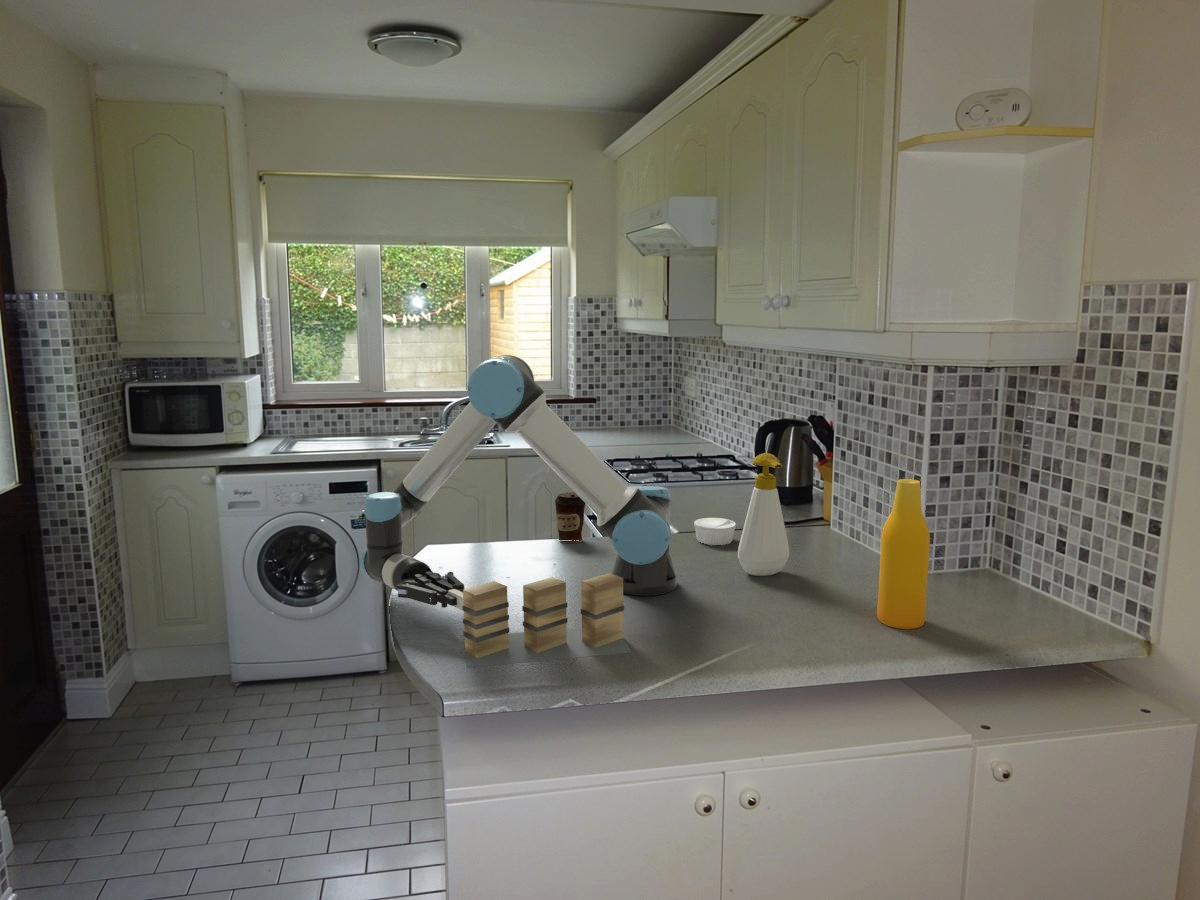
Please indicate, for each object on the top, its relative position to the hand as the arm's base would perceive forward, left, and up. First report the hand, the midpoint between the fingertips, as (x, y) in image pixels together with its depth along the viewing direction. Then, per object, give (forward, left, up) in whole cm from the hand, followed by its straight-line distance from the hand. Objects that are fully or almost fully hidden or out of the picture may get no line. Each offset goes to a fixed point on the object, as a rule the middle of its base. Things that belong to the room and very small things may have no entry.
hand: (469, 604), depth 160 cm
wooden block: (-14, +4, -8) cm, 16 cm away
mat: (-14, +4, -8) cm, 16 cm away
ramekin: (-69, -57, -8) cm, 90 cm away
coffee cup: (-31, -66, -8) cm, 73 cm away
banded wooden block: (-25, +4, -8) cm, 26 cm away
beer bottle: (-86, +7, -8) cm, 86 cm away
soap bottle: (-71, -27, -8) cm, 76 cm away
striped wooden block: (-3, +4, -8) cm, 9 cm away
